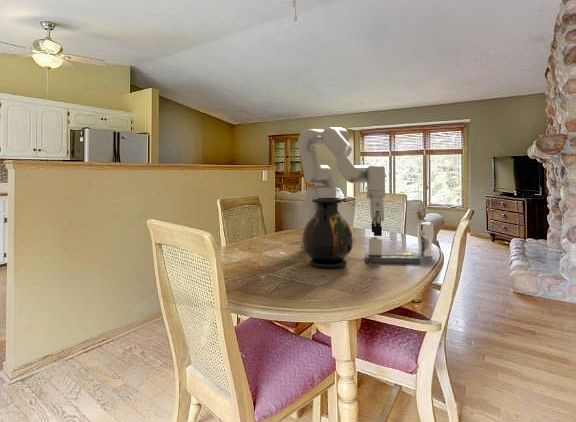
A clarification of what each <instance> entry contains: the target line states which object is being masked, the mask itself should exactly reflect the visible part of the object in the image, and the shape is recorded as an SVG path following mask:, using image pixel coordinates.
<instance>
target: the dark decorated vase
mask: <svg viewBox="0 0 576 422" xmlns="http://www.w3.org/2000/svg"><path fill="white" fill-rule="evenodd" d="M312 202H313V203H315V204H316V207H317V210H316V213H315V214H314V215H313V217H312V218H311V219H310V220H309V221H308V222H307V221H306V224H305V226H304V229H303V231H302V235H301V245H302V248H303V251H304V252H305V254H306V255H307V256H308V257H310V258H308V261H307V263H308V265H309V266H311V267H313V268H316V269H320V270H321V269H323V270H335V269H339V268H343V267H346V265H347V263H348V259H346V257H348V255H349V254H350V253H351V251H352V250H353V246H354V236H353V231H352V228H351V227H350V224H349V223H348V221H347V220H346V219H345V218H344V217H343V216H342V214H341V213H340V212H339V210H338V208H339V204H342V203H343V199H342V198H341V197H336V198H314V199H312Z"/></svg>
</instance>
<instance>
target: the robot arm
mask: <svg viewBox="0 0 576 422" xmlns="http://www.w3.org/2000/svg"><path fill="white" fill-rule="evenodd" d="M349 141H350V134H349V131H348V130H347V129H345V128H343V127H335V126H333V127H332V126H329V127H327V128H325V129H318V128H307V129H305V130H303V131H301V133H300V134H299V136H298V140H297V146H298V147H297V148H298V151H299V153H300V159H301V165H302V171H303V177H304V181H305V182H306V183H307V184H312V185H313V186H310V187H307V189H305V192H304V202H305V205H306V206H305V207H306V223H307V222H308V221H309V220H310V219H311V218H312V217H313V215H314V214H315V213H316V210H317V207H316V204H315V203H313V202H312V199H314V198H337V189H336V188H337V187H336V183H335V182H336V181H335V177H334V172H333V170H332V169H331V167H330V166H328V165H327V164H320V161H319V160H320V159H319V155H318V153H317V151H316V149H314V147H318V148H319V147H320V148H321V147H323V148H328V150H329V151H330V152H331V153H332V155H333V156H334V157H335V164H336V169H337V171H338V172H339V174H340V175H341V177H342V178H343V179H344V180H345V181H346V182H347V183H351V184H359V183H360V184H365V183H366V198H367V199H369V211H370V212H369V214H370V220H371V233H373V237H382V236H383V233H382V232H383V230H382V222H384V221H385V213H384V212H385V210H384V199H385V198H386V168H385V166H384V165H382V164H375V165H354V164H353V162H351V160H350V159H349V158H348V157H349V156H350V155H351V153H352V152H353V151H352V150H353V148H352V146H351V144H350V143H349ZM314 184H316V185H314ZM317 184H319V185H317Z"/></svg>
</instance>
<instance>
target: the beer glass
mask: <svg viewBox="0 0 576 422" xmlns="http://www.w3.org/2000/svg"><path fill="white" fill-rule="evenodd" d="M434 227H435V226H434V222H430V221H429V222H428V221H419V222H417V229H416V231H417V232H416V235H417V243H418V251H417V255H418V256H419V257H420V258H422V257H423V258H431V257H432V256H433V254H432V244H433V240H434V234H435V233H434Z"/></svg>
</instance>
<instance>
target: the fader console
mask: <svg viewBox="0 0 576 422" xmlns="http://www.w3.org/2000/svg"><path fill="white" fill-rule="evenodd" d="M421 258H422V257H421V256H418V253H416V252H415V253H414V252H413V253H411V252H409V253H408V252H382V255H369V252H364V259H365V262H366V264H383V265H384V264H387V265H388V264H389V265H392V264H393V265H421V260H422V259H421Z"/></svg>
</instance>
